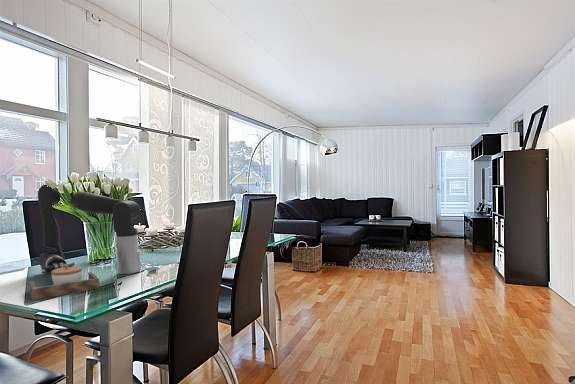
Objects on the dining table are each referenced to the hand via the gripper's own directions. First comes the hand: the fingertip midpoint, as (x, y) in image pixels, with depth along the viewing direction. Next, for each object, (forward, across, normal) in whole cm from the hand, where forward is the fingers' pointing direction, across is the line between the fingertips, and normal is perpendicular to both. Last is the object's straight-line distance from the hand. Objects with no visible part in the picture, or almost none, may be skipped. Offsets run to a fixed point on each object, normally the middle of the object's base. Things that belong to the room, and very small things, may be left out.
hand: (61, 271), depth 163 cm
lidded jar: (+5, +1, +6) cm, 8 cm away
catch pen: (+6, 0, +6) cm, 8 cm away
